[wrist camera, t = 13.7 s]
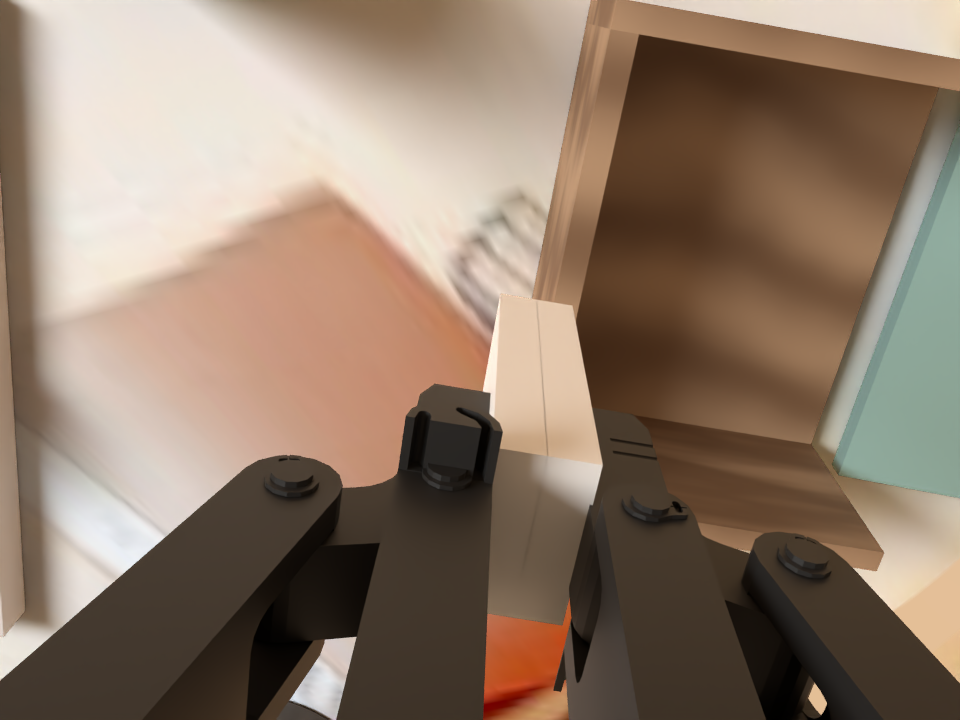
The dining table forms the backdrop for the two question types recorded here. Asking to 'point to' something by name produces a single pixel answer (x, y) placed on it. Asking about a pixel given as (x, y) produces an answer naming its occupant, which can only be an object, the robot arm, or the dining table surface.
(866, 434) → the panel
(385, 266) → the dining table surface
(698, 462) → the crate
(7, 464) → the serving tray
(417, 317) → the dining table surface
